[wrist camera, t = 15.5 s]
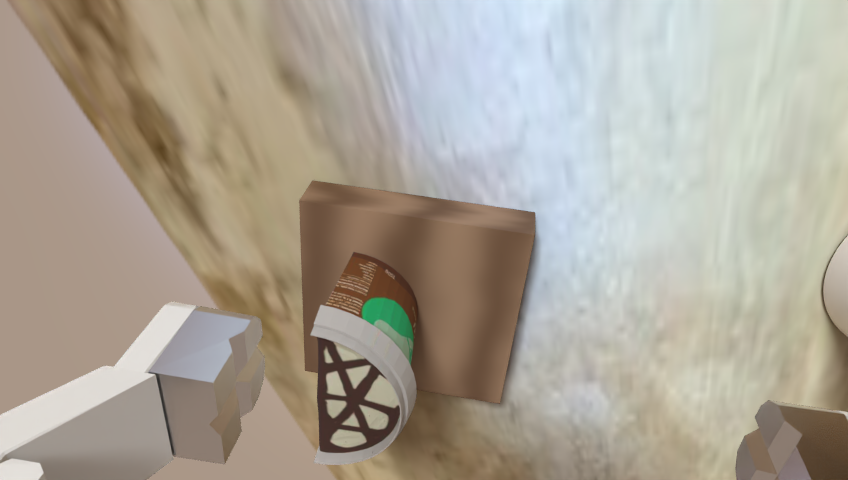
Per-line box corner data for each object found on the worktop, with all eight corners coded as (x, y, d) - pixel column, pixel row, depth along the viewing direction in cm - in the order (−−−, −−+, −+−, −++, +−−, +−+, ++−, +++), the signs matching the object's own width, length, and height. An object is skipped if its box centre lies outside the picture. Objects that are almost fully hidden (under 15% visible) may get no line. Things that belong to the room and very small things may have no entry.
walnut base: (534, 212, 44) (534, 234, 41) (501, 377, 52) (499, 403, 50) (312, 180, 45) (299, 200, 42) (315, 346, 54) (305, 370, 51)
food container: (426, 376, 49) (404, 484, 41) (350, 363, 50) (313, 468, 42) (441, 247, 43) (418, 344, 34) (353, 233, 43) (310, 327, 35)
